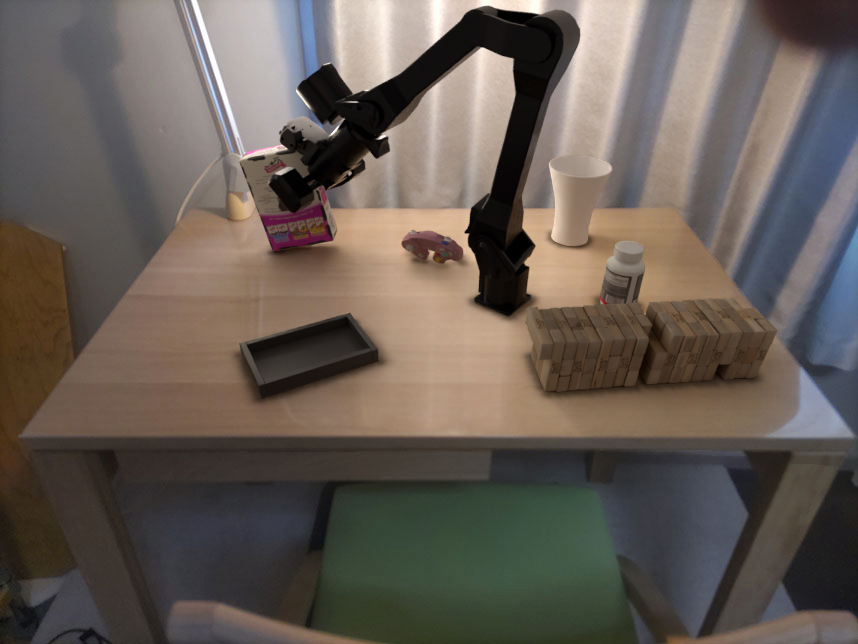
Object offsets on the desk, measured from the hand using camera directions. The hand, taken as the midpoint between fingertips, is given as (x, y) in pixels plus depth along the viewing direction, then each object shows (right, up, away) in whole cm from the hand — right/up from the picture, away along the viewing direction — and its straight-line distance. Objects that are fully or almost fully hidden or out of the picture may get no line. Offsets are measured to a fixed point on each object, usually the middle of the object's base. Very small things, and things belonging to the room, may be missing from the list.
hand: (294, 200), depth 101 cm
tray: (+7, -25, -22) cm, 34 cm away
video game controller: (+23, -10, 0) cm, 25 cm away
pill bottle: (+51, -18, -11) cm, 55 cm away
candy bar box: (+1, -6, +3) cm, 7 cm away
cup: (+48, -5, +7) cm, 49 cm away
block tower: (+50, -26, -23) cm, 61 cm away
